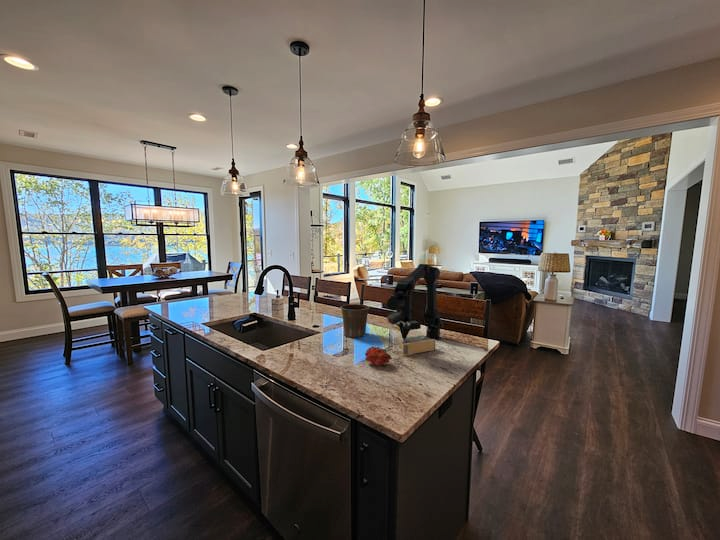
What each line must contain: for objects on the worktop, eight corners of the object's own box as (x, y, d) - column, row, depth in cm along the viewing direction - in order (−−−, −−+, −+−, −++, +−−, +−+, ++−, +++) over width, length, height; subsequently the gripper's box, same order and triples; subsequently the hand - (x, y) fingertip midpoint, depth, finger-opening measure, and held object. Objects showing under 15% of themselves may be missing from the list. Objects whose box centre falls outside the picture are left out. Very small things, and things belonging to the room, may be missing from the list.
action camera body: (423, 344, 153) (423, 334, 152) (432, 349, 145) (433, 338, 145) (401, 348, 147) (401, 337, 147) (410, 353, 140) (410, 342, 139)
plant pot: (343, 329, 177) (343, 303, 176) (370, 331, 175) (370, 304, 174) (337, 338, 161) (337, 309, 160) (367, 339, 159) (367, 310, 158)
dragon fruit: (363, 365, 130) (389, 373, 126) (359, 360, 123) (386, 368, 119) (369, 346, 134) (394, 354, 130) (366, 340, 127) (392, 348, 123)
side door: (434, 349, 145) (434, 338, 145) (435, 349, 144) (436, 339, 144) (401, 354, 138) (402, 343, 137) (403, 355, 137) (403, 344, 136)
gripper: (380, 304, 145) (379, 335, 147) (400, 312, 128) (399, 347, 130) (399, 302, 150) (399, 332, 151) (421, 310, 133) (420, 344, 134)
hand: (403, 338), depth 141 cm, fingers closed
